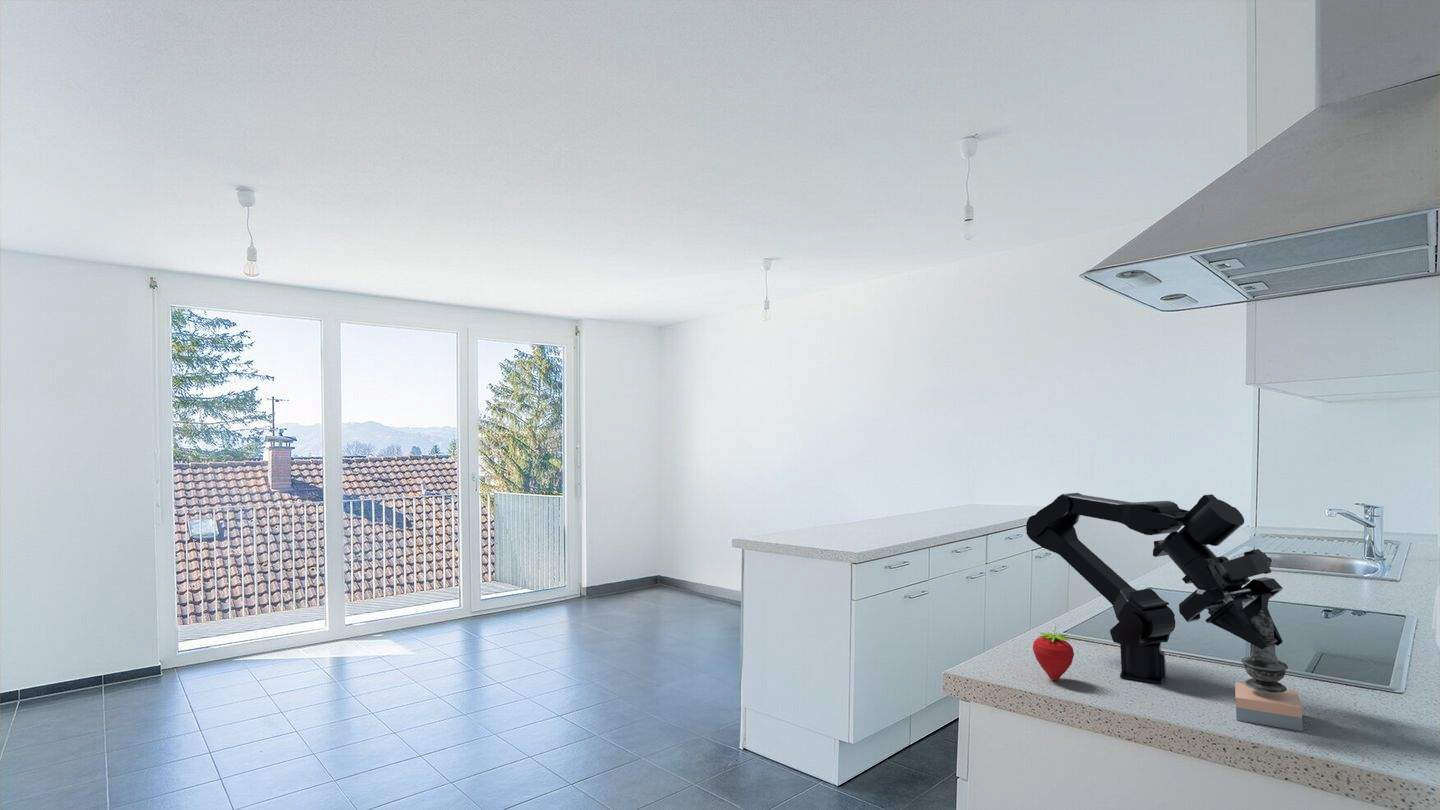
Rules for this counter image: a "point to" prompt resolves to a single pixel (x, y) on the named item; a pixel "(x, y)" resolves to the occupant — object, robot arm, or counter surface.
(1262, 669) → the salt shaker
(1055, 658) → the strawberry
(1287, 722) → the peach and grey block
